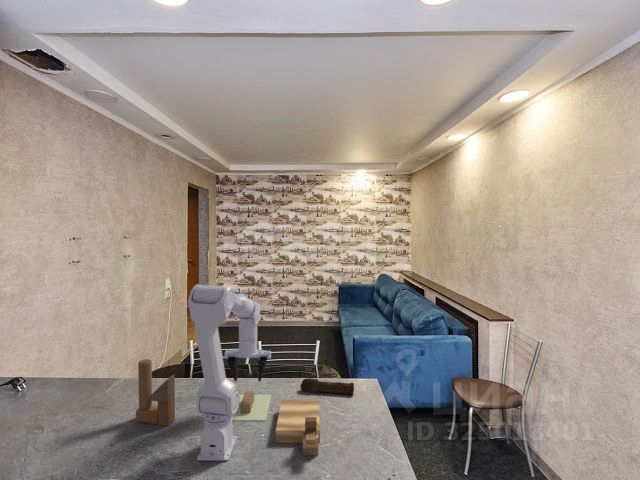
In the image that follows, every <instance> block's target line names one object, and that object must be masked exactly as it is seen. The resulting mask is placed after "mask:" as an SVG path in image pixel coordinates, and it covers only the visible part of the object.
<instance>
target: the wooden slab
mask: <svg viewBox="0 0 640 480" xmlns="http://www.w3.org/2000/svg"><path fill="white" fill-rule="evenodd" d="M280 401H281V402H280V405H279V412H278V417H277V422H276V428H275V443H278V444H279V443H280V444H282V443H284V444H285V443H286V444H288V443H291V444H294V443H295V444H296V443H297V444H302V456H319V444H320V443H321V426H320V423H321V421H320V400H319V399H315V400H314V399H281V400H280ZM305 417H317V430H316V435H315V445H306V435H305Z"/></svg>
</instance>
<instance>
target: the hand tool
mask: <svg viewBox="0 0 640 480" xmlns="http://www.w3.org/2000/svg"><path fill="white" fill-rule="evenodd" d="M300 390H301V391H303V392H307V393H312V394H317V393H318V392H319V393H331V394H332V393H334V394H344V395H351V396H352V397H353V396H354V392H355V384H354V382H349V383H348V382H341V381H340V382H337V381H336V382H332V381H322V380H321V381H319V379H318V378H305V379H303V380H302V381H301V383H300Z"/></svg>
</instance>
